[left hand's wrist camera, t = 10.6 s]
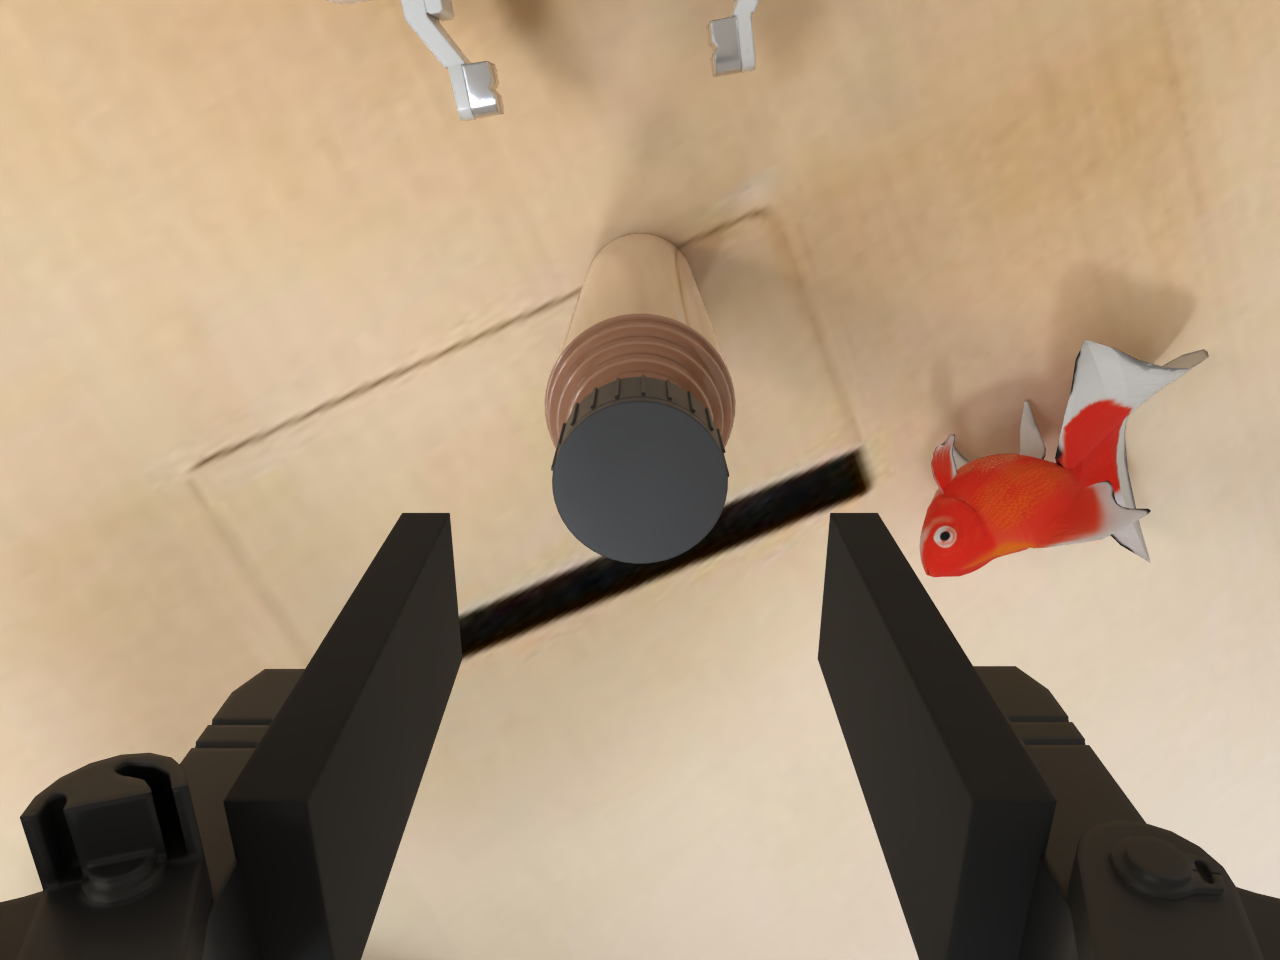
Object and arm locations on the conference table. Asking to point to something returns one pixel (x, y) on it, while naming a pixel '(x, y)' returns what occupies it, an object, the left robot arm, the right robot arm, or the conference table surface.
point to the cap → (640, 470)
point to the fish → (1048, 474)
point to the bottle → (640, 332)
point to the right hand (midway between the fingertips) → (607, 96)
